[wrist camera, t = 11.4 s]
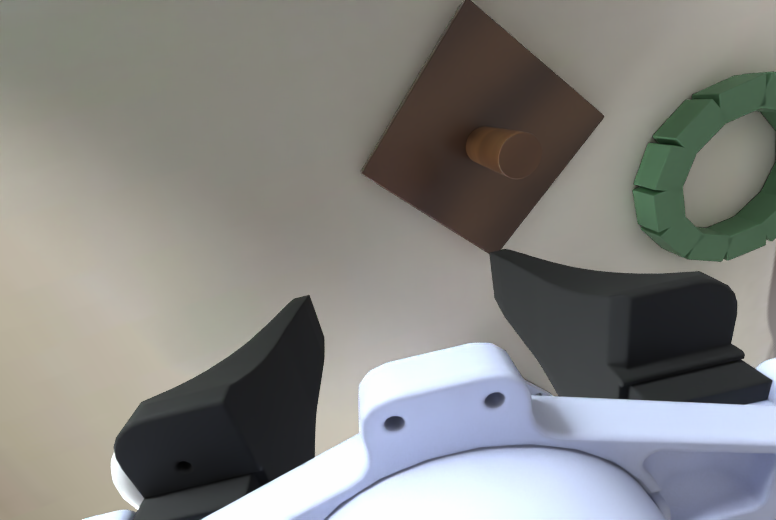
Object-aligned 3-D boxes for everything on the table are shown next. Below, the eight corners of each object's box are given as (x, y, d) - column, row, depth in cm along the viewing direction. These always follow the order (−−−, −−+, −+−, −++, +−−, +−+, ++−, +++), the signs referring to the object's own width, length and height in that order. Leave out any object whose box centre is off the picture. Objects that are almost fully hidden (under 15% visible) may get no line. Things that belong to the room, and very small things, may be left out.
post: (594, 115, 21) (679, 118, 16) (489, 251, 24) (529, 294, 19) (461, 2, 18) (507, -43, 13) (360, 171, 21) (362, 193, 16)
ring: (781, 27, 20) (819, 20, 19) (822, 182, 24) (856, 188, 23) (603, 160, 22) (623, 164, 21) (668, 282, 26) (689, 294, 25)
